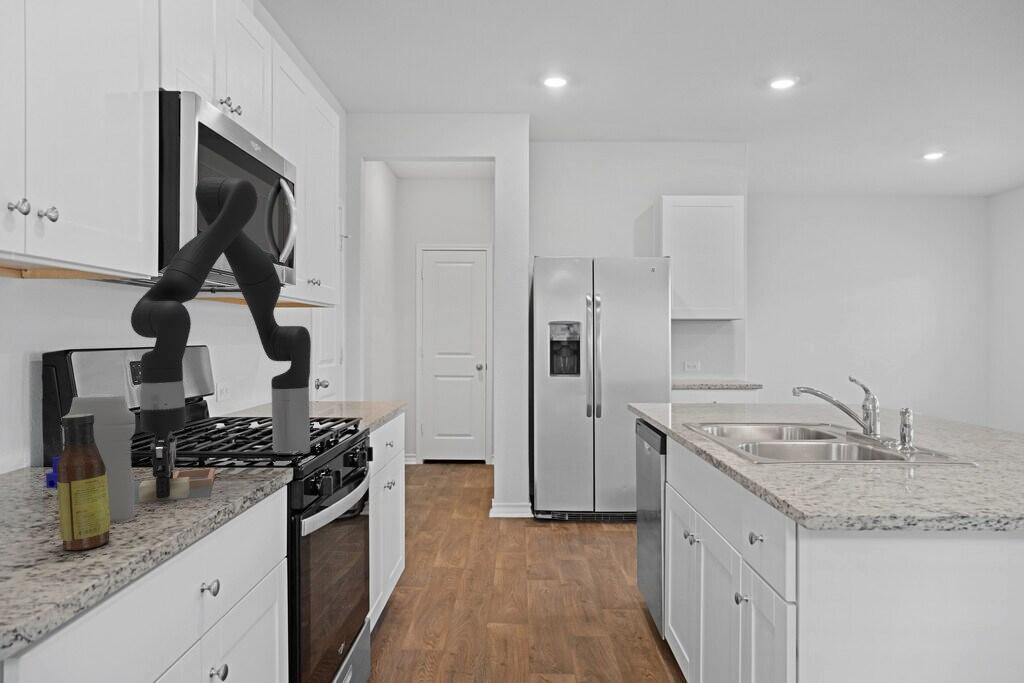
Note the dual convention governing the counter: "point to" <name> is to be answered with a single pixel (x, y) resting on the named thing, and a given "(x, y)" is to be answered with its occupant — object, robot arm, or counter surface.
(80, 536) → the sauce bottle
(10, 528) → the counter surface
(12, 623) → the counter surface
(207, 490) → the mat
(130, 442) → the tall pale column
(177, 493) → the beige rectangular prism
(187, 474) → the frame
